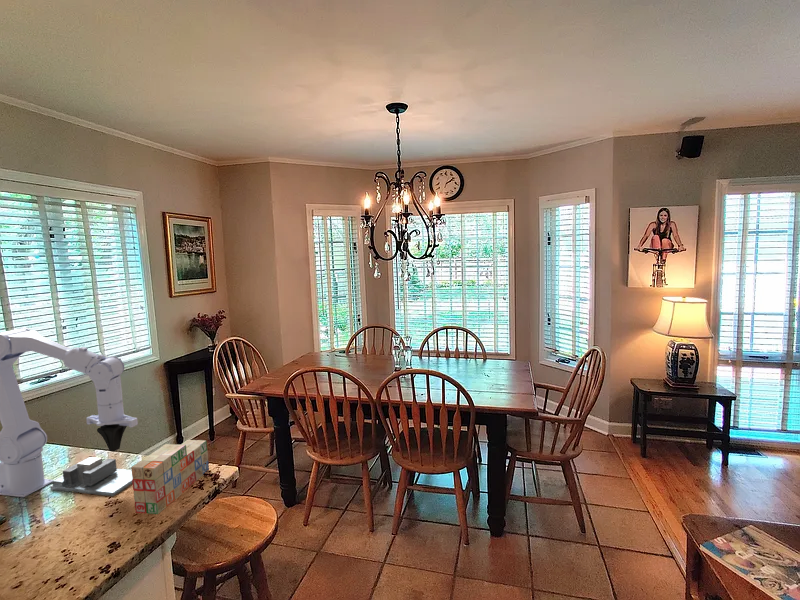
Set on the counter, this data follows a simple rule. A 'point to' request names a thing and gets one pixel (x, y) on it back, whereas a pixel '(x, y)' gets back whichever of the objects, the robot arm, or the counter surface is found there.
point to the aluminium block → (87, 465)
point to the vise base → (103, 487)
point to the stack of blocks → (167, 474)
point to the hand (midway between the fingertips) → (114, 449)
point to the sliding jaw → (99, 472)
